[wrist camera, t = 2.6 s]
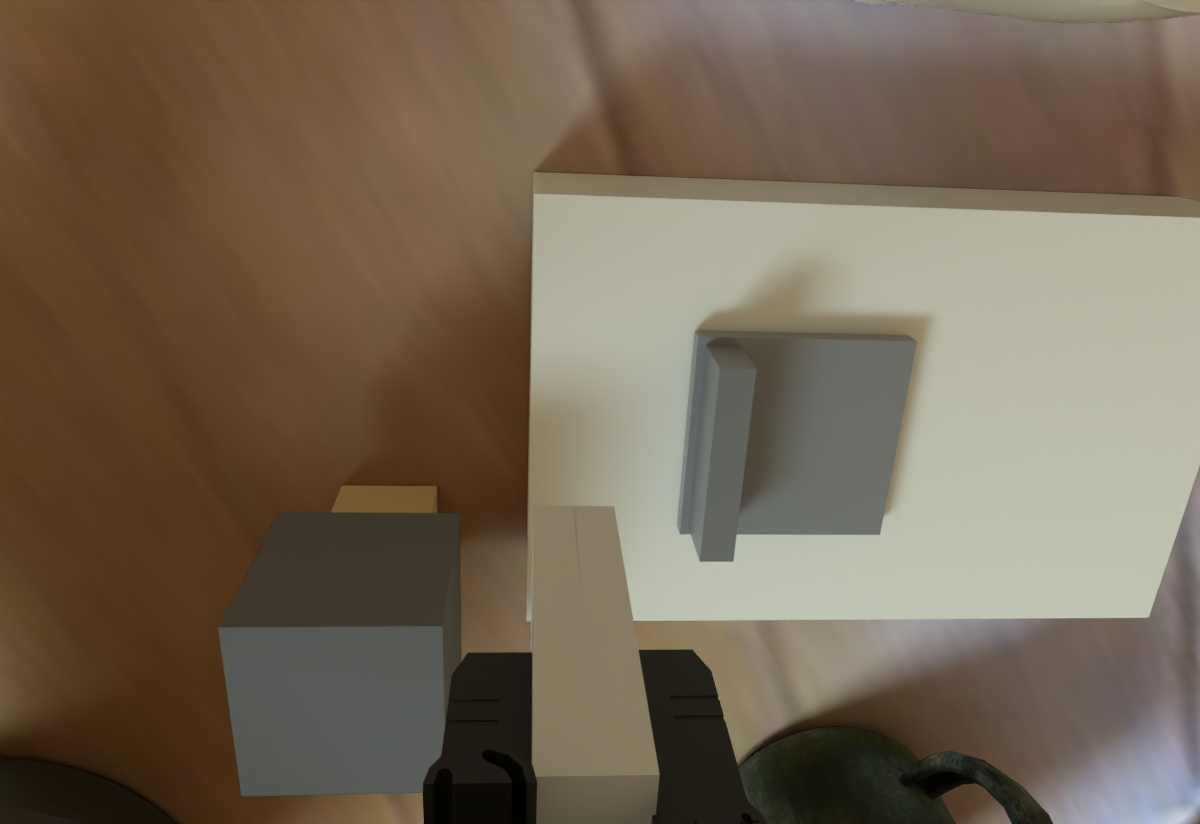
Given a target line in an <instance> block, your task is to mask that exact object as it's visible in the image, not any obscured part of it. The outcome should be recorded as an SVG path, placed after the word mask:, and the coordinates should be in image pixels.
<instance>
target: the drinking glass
mask: <svg viewBox="0 0 1200 824" xmlns="http://www.w3.org/2000/svg"><path fill="white" fill-rule="evenodd" d="M854 1H857V2H860V3H864V4H868V5H877V6H889V5H899V4H905V5H915V6H924V7H932V8H940V9H948V10H956V11H963V12H970V13H977V14H985V15H992V16H999V17H1007V18H1015V19H1024V20H1033V21H1042V22H1055V23H1122V22H1138V21H1150V20H1160V19H1169V18H1178V17H1187V16H1195V15H1200V0H854Z"/></svg>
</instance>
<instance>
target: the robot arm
mask: <svg viewBox="0 0 1200 824" xmlns="http://www.w3.org/2000/svg"><path fill="white" fill-rule="evenodd" d="M723 716H724V715H723V712H722V708H721V705H720V701H719V700H718V694H717V690H716V687H715V683H714V680H713V676H712V672H711V670H710V669H709V668H708V667H707V666H706V665H705V664H704V662H703V661H702V660H701V659H700V658H699V657H698V656H697V655H696V653H695V652H694V651H693V650H638V644H637V638H636V633H635V627H634V621H633V615H632V609H631V603H630V597H629V591H628V585H627V580H626V574H625V568H624V562H623V556H622V550H621V544H620V538H619V532H618V527H617V521H616V515H615V509H614V506H535V505H533V548H532V596H531V653H468V654H467V655H466V656H465V658H464V659H463V660H462V662H461V663H460V664H459V666H458V667H457V668H456V670H455V671H454V673H453V674H452V677H451V685H450V693H449V702H448V708H447V715H446V726H445V731H444V738H443V746H442V753H441V757H440V758H439V759H438V760H437V761H436V762H435V763H434V764H433V765H432V766H430V767H429V770H428V772H427V775H426V777H425V780H424V782H423V808H424V824H766V822H765V820H764V818H763V817H762V815H761V813H760V812H759V811H758V810H757V809H756V808H754V807H753V806H752V805H751V804H750V803H749V801H748V798H747V796H746V794H745V790H744V787H743V783H742V780H741V776H740V773H739V769H738V765H737V762H736V758H735V755H734V751H733V748H732V744H731V740H730V737H729V733H728V730H727V726H726V722H725V721H724V718H723ZM0 824H174V823H173V822H172V821H171V820H170V819H169V818H168V817H167V816H166V815H164V814H163V813H162V812H161V811H159V810H158V809H157V808H155V807H154V806H153V805H151V804H150V803H148V802H147V801H145V800H144V799H142V798H141V797H139V796H137V795H136V794H134V793H132V792H130V791H128V790H127V789H125V788H123V787H121V786H119V785H116V784H114V783H112V782H110V781H108V780H105V779H103V778H100V777H98V776H95V775H92V774H89V773H86V772H83V771H80V770H76V769H73V768H69V767H65V766H60V765H56V764H51V763H45V762H39V761H32V760H23V759H6V758H0Z"/></svg>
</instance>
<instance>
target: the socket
mask: <svg viewBox="0 0 1200 824" xmlns="http://www.w3.org/2000/svg"><path fill="white" fill-rule="evenodd" d="M695 330H699V331H742V332H786V333H829V334H872V335H909V336H910V337H912V338H913V339H914V340H916V341H917V344H916V349H915V354H914V360H913V365H912V370H911V375H910V381H909V386H908V391H907V396H906V402H905V407H904V412H903V417H902V423H901V428H900V433H899V438H898V443H897V449H896V454H895V459H894V464H893V470H892V475H891V480H890V485H889V491H888V496H887V501H886V506H885V511H884V517H883V522H882V527H881V532H880V535H736V544H735V552H734V560H733V562H700V561H699V558H698V555H697V552H696V549H695V546H694V543H693V540H692V537H691V534H680V533H679V530H678V527H677V518H678V507H679V496H680V485H681V474H682V463H683V452H684V441H685V430H686V419H687V408H688V397H689V386H690V375H691V364H692V353H693V342H694V331H695ZM1199 467H1200V201H1195V200H1191V199H1187V198H1182V197H1174V196H1148V195H1122V194H1096V193H1070V192H1043V191H1017V190H991V189H965V188H939V187H913V186H887V185H861V184H835V183H809V182H783V181H756V180H730V179H704V178H678V177H652V176H626V175H600V174H574V173H548V172H533V219H532V274H531V330H530V385H529V441H528V496H527V564H526V621H531V596H532V548H533V505H535V506H614V509H615V515H616V521H617V527H618V532H619V538H620V544H621V550H622V556H623V562H624V568H625V574H626V580H627V585H628V591H629V597H630V603H631V609H632V615H633V621H693V620H861V619H1028V618H1149V615H1150V612H1151V609H1152V606H1153V603H1154V600H1155V597H1156V594H1157V591H1158V588H1159V585H1160V583H1161V580H1162V577H1163V574H1164V571H1165V568H1166V565H1167V562H1168V559H1169V556H1170V553H1171V550H1172V547H1173V544H1174V541H1175V538H1176V535H1177V532H1178V529H1179V526H1180V523H1181V520H1182V517H1183V514H1184V511H1185V508H1186V505H1187V502H1188V499H1189V496H1190V493H1191V490H1192V487H1193V484H1194V481H1195V478H1196V476H1197V473H1198V470H1199Z"/></svg>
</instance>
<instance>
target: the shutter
mask: <svg viewBox="0 0 1200 824" xmlns="http://www.w3.org/2000/svg"><path fill="white" fill-rule="evenodd" d="M916 344H917V341H916V340H914V339H913V338H912V337H910V336H909V335H872V334H829V333H786V332H742V331H699V330H695V331H694V342H693V353H692V364H691V375H690V386H689V397H688V408H687V419H686V430H685V441H684V452H683V463H682V474H681V485H680V496H679V507H678V518H677V527H678V530H679V533H680V534H691V537H692V540H693V543H694V546H695V549H696V552H697V555H698V558H699V561H700V562H733V560H734V552H735V544H736V535H880V532H881V527H882V522H883V517H884V511H885V506H886V501H887V496H888V491H889V485H890V480H891V475H892V470H893V464H894V459H895V454H896V449H897V443H898V438H899V433H900V428H901V423H902V417H903V412H904V407H905V402H906V396H907V391H908V386H909V381H910V375H911V370H912V365H913V360H914V354H915V349H916Z"/></svg>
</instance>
